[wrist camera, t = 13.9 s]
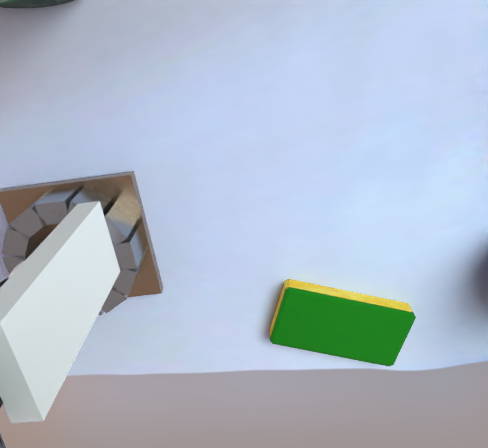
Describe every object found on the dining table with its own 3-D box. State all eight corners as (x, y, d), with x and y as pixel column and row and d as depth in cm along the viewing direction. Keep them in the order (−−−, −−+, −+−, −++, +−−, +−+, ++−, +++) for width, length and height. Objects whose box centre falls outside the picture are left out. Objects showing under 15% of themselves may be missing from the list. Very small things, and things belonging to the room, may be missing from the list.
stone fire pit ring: (1, 188, 44) (-25, 206, 39) (133, 171, 43) (121, 187, 38) (45, 301, 49) (26, 327, 45) (163, 287, 48) (154, 313, 44)
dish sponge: (386, 352, 52) (392, 367, 49) (268, 329, 51) (269, 343, 48) (409, 301, 49) (417, 315, 46) (285, 275, 48) (286, 288, 45)
